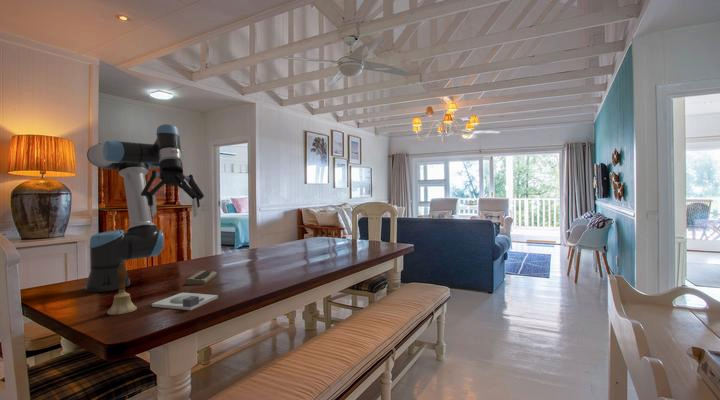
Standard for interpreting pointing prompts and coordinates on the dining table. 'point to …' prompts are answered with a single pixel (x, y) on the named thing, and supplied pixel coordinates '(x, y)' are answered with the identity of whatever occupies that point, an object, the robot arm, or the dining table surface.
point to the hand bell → (121, 295)
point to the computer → (201, 277)
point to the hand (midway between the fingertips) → (175, 215)
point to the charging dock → (180, 306)
